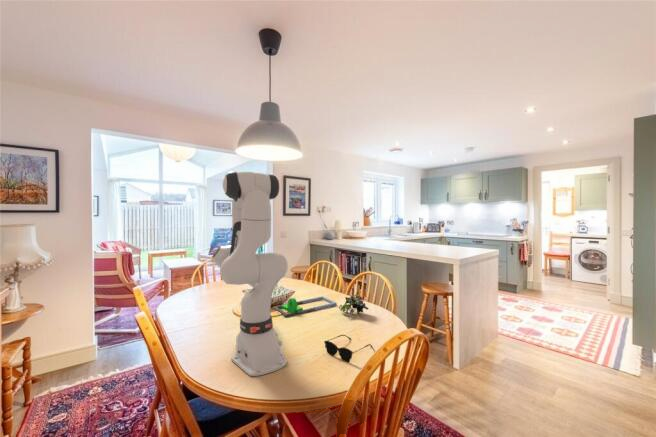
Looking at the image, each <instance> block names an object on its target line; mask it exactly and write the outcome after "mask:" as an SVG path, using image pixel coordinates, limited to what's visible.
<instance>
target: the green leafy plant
mask: <svg viewBox="0 0 656 437" xmlns="http://www.w3.org/2000/svg"><path fill="white" fill-rule="evenodd" d="M338 309H339V310H340V311H341V312H343V313H344V312H345V315H348V312H349V313H350V314H349V317H351V316H352V315H353V313H354V312H355V311H356V312H357V313H359V312H360V313H364V309H365V310H369V307H368V306H366V303H365V302H364V300H363V298H362V296H360V295H358V294H354V295H351V296H349V297H347V296H345V302H344V304H343V305H342V304H340V305H339V307H338Z"/></svg>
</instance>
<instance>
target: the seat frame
mask: <svg viewBox="0 0 656 437" xmlns="http://www.w3.org/2000/svg"><path fill="white" fill-rule="evenodd" d="M285 304H286V303H284V304H279V305H275V306H273V310H275V311H276V312H277V311H278V312H277V313H279V312H280V313H281V314H280V313H279V314H280V315H282V316H283V318H288V317H294V316H297V315H302V314H307V313H311V312H314V311H316V310H315V308H313V307H311V308H306V309H303V310H301V311H297V312H292V313H290V312H288V313H286V312H285V310H283V309H282V308H281V306H282V305H285ZM301 304H304V303H303V302H302V300H299V301H297V306H299V305H301Z"/></svg>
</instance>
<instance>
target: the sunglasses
mask: <svg viewBox="0 0 656 437" xmlns="http://www.w3.org/2000/svg"><path fill="white" fill-rule="evenodd" d="M343 336H344V337H346V338H347V339H348V340H350V339H351V340H352V337H349V336H348V335H345V334H339V335H338V336H334V337H333V338H330V339H327V340H324V341H323V343H324V346H325V349H326V353H327V354H328V353H329V355H330V356H333V357H334V356H335V355H336V354H337V352H338V355H339V356H340V359H341V360H342V361H344V360H345V362H347V363H350V361H351V360H352V357H353V355H354V354H356V353H357V352H359V351H361V350H363V349H365V348H367V347H369V346H370V348H371V347H372V348H373V345H372V344H370V343H368V344H366V345H364V346H363V347H361V348H359V349H357V350H354V351H353V350H351V349H349V348H347V347H338V346H337V345H336V344H335V343H334V342H331V341H332V340H334V339H337V338H340V337H343Z"/></svg>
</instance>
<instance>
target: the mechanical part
mask: <svg viewBox="0 0 656 437" xmlns="http://www.w3.org/2000/svg"><path fill="white" fill-rule="evenodd" d="M297 302H298V301H297V299H296V298H295V297H292V298H289V299H288V301H287V303H284V304H285V305H284V304H281V305H282V306H281V308H280V309H281V310H283V309H285V310H284V311H286V310H287V311H286V312H288V313H292V312H297V311H301V310H304V309H303V307H301V306H299V305H297Z"/></svg>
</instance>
